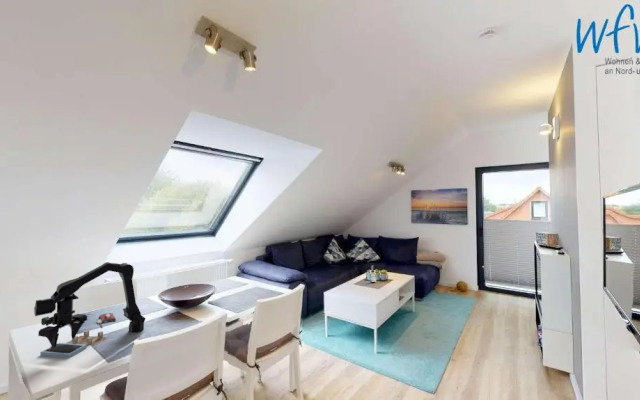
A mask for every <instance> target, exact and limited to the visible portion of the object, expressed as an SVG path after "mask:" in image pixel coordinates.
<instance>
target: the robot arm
mask: <svg viewBox="0 0 640 400" xmlns="http://www.w3.org/2000/svg"><path fill="white" fill-rule="evenodd" d="M134 269H135V268H134V266H133V265H131V264H130V263H127V262H121V263H115V262H108V261H107V262H104V263H103V264H101V265H99V266H98V267H96V268H94V269H92V270H89V272H86V273H84V274H83V275H80V276H78V277H76V278H73V279H70V280H67V281H63V282H61V283H59V284H58V285H57V287H56V290H55V291H54V292H53V294H52V295H51V296H50V298H44V299H36V300H35V304H34V308H33V312H34V313H33V314H34V317H38V316H42V315H47V314H52V313H53V312H55V310H56V312H55V313H54V314H53V315H52V316H50V317H49V316H45V317H42V318H41V321H40V323H41V325H42V326H44V325H45V327H43V328H41V329H39V330H38V332H37V333H38V337H43V338H46V339H47V340H48V342H49V343H50V347H51V346H52V347H53V348H55V347H56V344H58V339H59V336H60V335H59V334H60V333H59V330H60V329H62V328H64V327H67V326H70V327H71V329H70V330H71V334H70V335H71V339H72V338H75V336H77V334H78V332H79V331H80V329H81V327H82V326H84V325H83V324H85V323H86V321H88V316H87V314H81V313H77V314H75V313H76V310H74V309H73V308H74V300H78V299H79V297H78V295H76V294H75V293H77V292H78V291H79V289H81V288H82V287H83V286H85V284H87V283H90V282H91V281H93V280H95V279H97V278H98V277H100V276H102V275H104V274H105V273H107V272H114V273H118V275H119V277H120V279H121V281H122V286H123V291H124V298H125V305H126V306H125V308H122V310H123V316H124V317H125V318H126V319H127V320H128V321H129V325H128V332H130V333H132V334H135V333H140V332H142V331H144V330H145V329H144V327H145V321H146V317H145V316H143V315H142V312H141V311H140V308H139V307H138V305H137V302H136V296H135V295H136V294H135V287H134V284H133V283H134V282H133V278H134ZM73 314H75V315H73ZM52 325H53V326H52Z"/></svg>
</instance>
